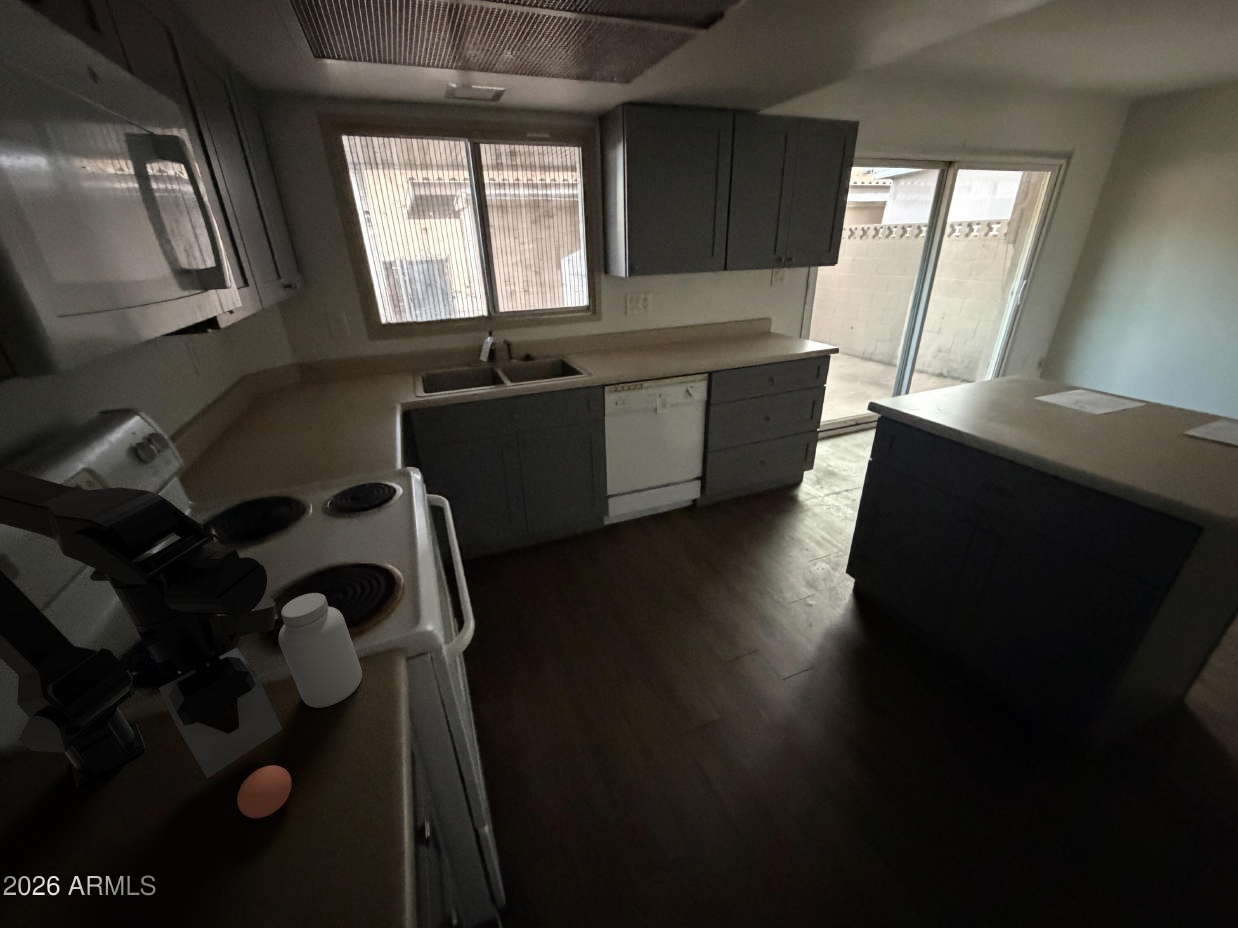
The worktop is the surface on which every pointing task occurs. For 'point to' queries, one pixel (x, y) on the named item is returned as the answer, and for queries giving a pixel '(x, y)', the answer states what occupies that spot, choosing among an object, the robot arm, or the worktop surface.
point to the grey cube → (225, 748)
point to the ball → (264, 791)
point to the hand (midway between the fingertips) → (223, 712)
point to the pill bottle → (319, 651)
